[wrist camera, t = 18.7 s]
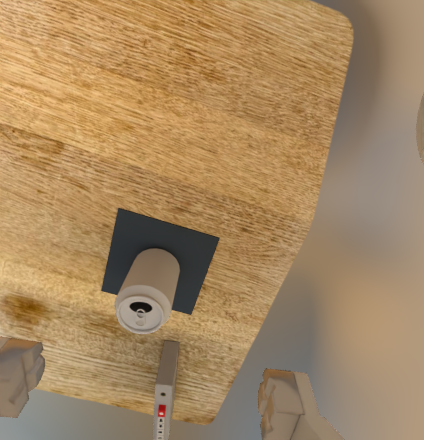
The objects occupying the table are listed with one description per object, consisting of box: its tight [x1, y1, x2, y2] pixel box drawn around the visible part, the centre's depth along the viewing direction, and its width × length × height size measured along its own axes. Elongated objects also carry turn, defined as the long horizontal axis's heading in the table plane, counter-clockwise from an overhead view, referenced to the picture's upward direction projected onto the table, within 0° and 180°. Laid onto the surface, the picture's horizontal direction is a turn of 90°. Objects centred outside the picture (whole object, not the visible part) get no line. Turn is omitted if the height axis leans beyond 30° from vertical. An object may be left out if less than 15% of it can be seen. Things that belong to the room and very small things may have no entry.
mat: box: [102, 208, 219, 315], centre depth 49 cm, size 16×16×1 cm
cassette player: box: [153, 341, 179, 440], centre depth 55 cm, size 16×3×10 cm, turn 174°
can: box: [115, 248, 180, 334], centre depth 44 cm, size 8×8×12 cm
